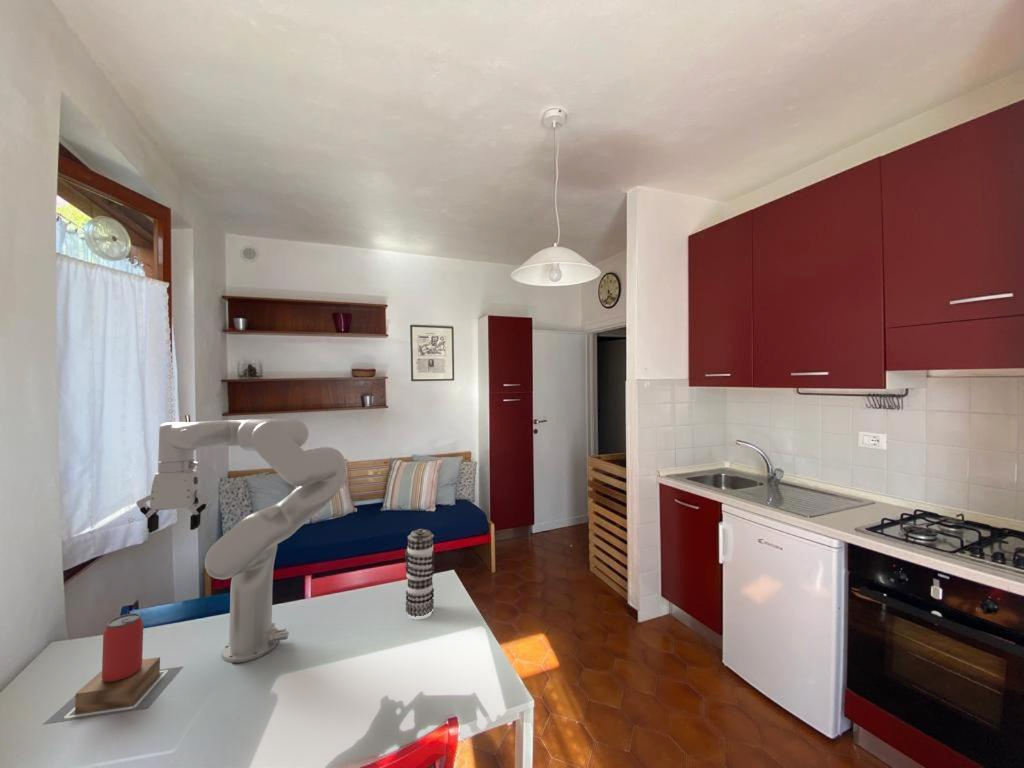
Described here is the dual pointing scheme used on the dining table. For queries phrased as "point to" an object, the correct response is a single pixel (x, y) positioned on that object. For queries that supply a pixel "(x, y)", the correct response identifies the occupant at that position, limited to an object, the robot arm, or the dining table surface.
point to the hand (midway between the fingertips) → (174, 529)
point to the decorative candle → (420, 572)
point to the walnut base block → (116, 689)
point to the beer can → (122, 647)
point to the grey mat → (141, 703)
